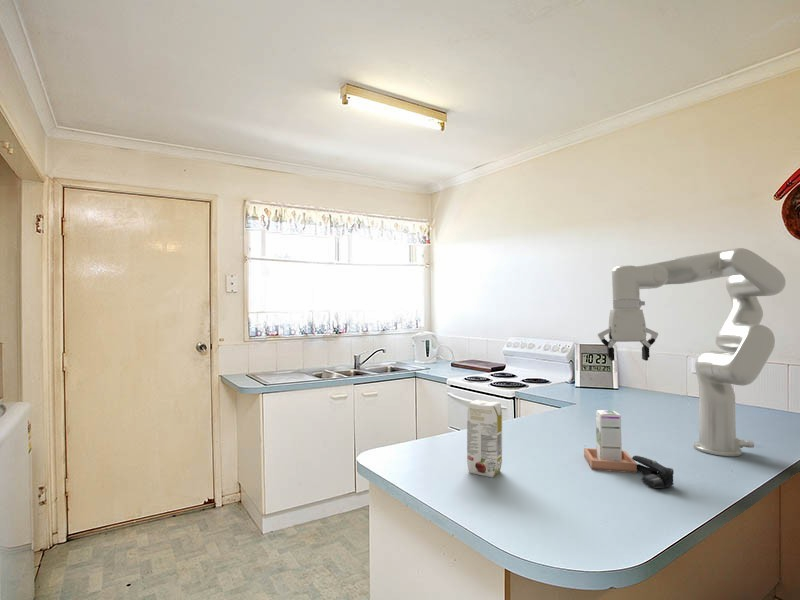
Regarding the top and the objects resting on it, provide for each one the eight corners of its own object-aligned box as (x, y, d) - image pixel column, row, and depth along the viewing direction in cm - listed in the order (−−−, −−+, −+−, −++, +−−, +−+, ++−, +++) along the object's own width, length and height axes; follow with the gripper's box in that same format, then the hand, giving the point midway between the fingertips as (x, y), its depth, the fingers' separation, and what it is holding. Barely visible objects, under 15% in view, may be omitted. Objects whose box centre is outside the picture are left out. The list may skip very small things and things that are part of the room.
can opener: (681, 493, 111) (681, 470, 111) (652, 492, 111) (652, 469, 111) (648, 468, 128) (648, 448, 128) (623, 467, 129) (623, 447, 129)
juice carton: (494, 479, 118) (494, 406, 119) (464, 473, 123) (464, 402, 123) (504, 470, 124) (504, 401, 125) (475, 465, 129) (475, 398, 129)
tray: (625, 459, 135) (625, 450, 135) (636, 472, 124) (636, 463, 124) (584, 456, 138) (584, 448, 138) (591, 469, 126) (591, 460, 126)
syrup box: (622, 466, 127) (622, 414, 128) (600, 464, 129) (600, 413, 129) (616, 459, 133) (616, 410, 133) (595, 458, 134) (595, 409, 134)
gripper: (652, 304, 143) (654, 358, 143) (594, 306, 146) (596, 358, 146) (661, 304, 136) (663, 361, 136) (599, 306, 139) (601, 361, 139)
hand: (628, 360), depth 141 cm, fingers open, 9 cm apart
